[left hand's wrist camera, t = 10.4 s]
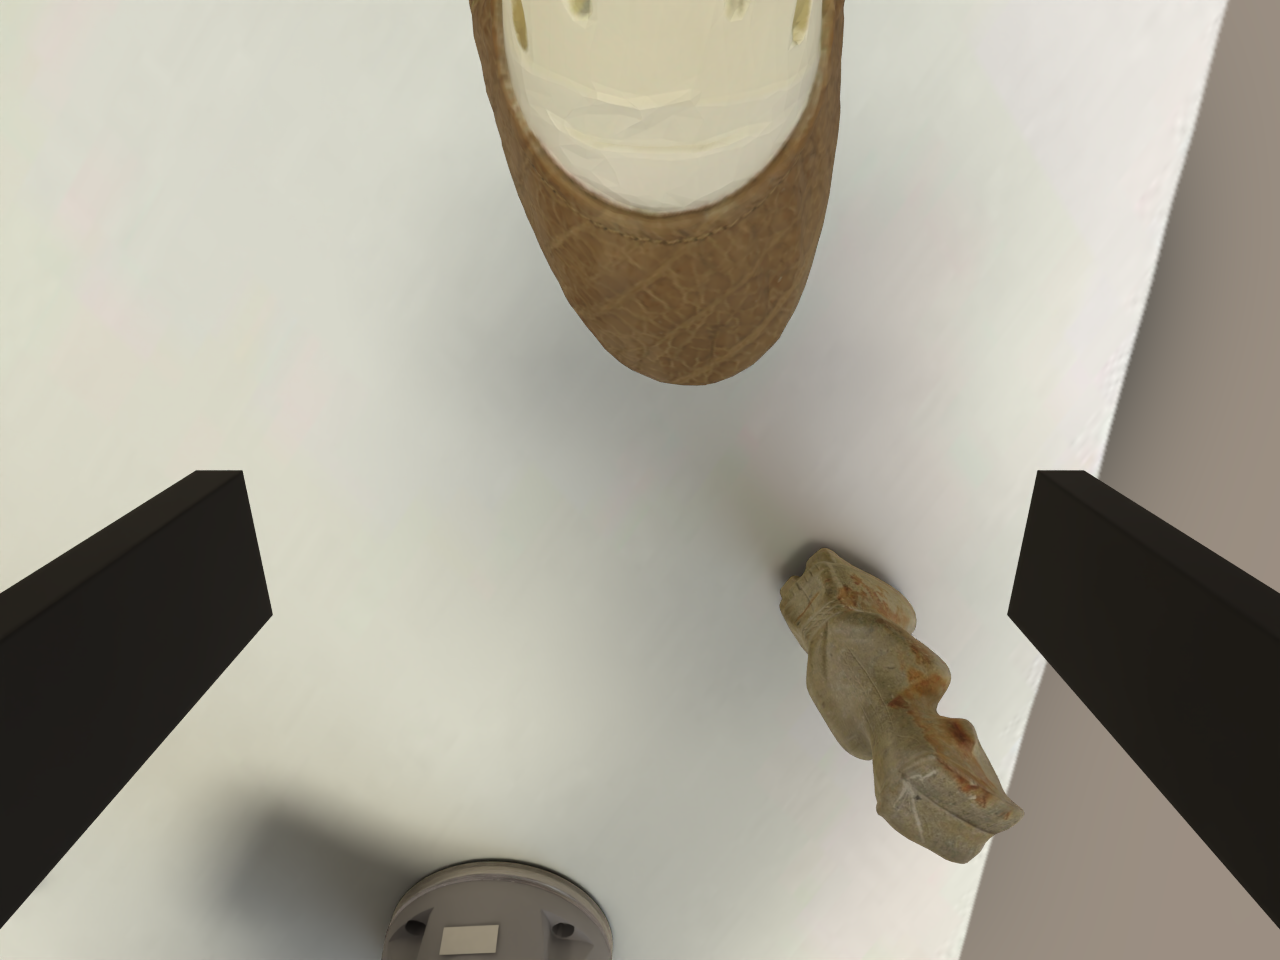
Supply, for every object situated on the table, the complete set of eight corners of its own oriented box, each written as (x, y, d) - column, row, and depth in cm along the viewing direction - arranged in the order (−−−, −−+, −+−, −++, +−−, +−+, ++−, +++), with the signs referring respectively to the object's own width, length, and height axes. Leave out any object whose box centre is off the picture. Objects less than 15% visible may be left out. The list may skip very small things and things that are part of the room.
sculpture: (844, 661, 42) (942, 905, 28) (751, 588, 40) (806, 809, 26) (923, 593, 40) (1070, 817, 26) (830, 514, 38) (934, 709, 24)
